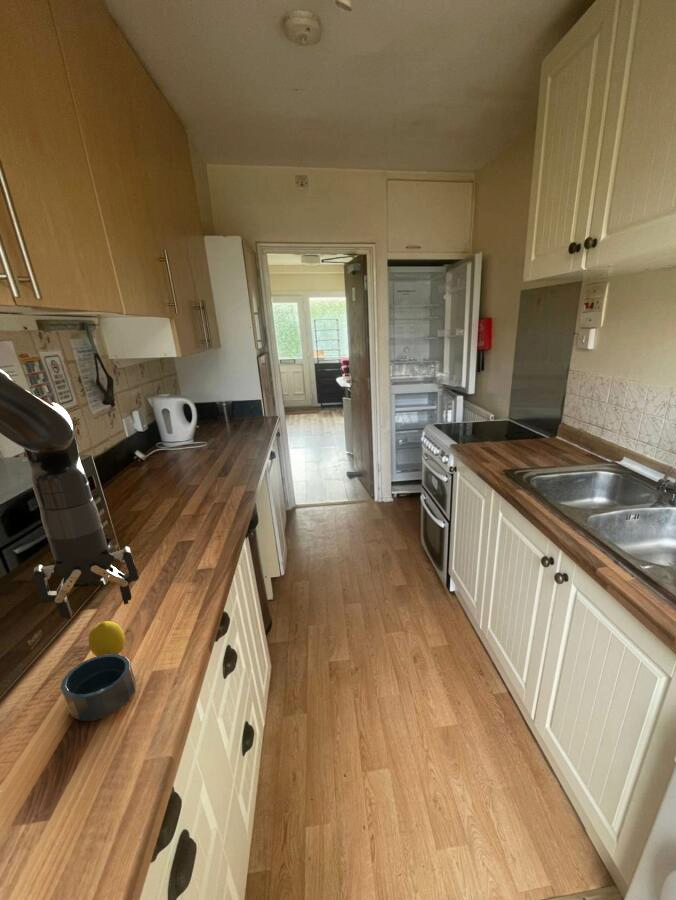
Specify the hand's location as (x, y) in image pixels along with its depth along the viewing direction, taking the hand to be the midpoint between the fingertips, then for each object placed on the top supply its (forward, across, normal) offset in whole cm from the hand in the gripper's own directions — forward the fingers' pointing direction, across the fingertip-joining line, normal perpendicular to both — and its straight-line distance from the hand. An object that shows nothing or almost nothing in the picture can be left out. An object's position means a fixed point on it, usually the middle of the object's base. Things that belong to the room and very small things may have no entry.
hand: (98, 609), depth 76 cm
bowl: (+11, -2, -11) cm, 15 cm away
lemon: (+11, 0, 0) cm, 11 cm away
